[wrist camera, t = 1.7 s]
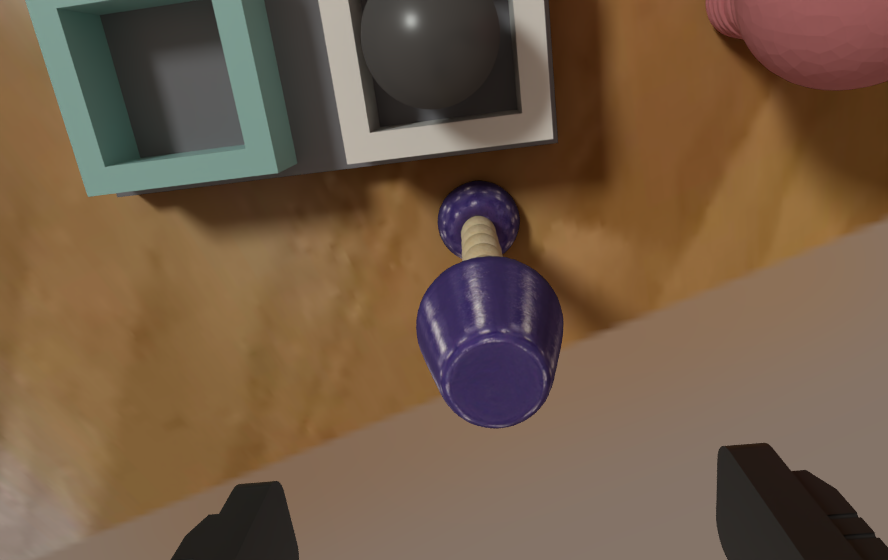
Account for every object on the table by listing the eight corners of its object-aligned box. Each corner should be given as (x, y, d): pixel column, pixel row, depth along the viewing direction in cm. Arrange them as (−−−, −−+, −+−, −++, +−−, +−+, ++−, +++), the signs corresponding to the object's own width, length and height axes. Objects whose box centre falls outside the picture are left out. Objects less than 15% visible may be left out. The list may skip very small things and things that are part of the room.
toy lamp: (542, 201, 31) (613, 336, 15) (508, 281, 32) (540, 480, 16) (454, 168, 30) (432, 270, 15) (424, 251, 32) (374, 424, 16)
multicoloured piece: (538, -90, 27) (561, -150, 19) (553, 139, 30) (578, 160, 23) (72, -17, 28) (-62, -47, 21) (133, 191, 32) (34, 225, 24)
